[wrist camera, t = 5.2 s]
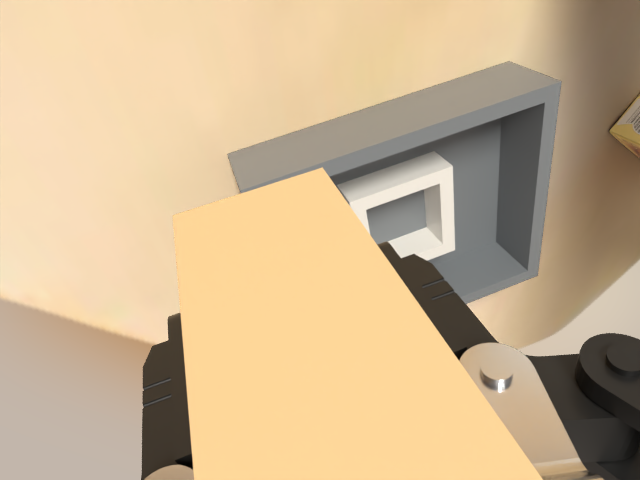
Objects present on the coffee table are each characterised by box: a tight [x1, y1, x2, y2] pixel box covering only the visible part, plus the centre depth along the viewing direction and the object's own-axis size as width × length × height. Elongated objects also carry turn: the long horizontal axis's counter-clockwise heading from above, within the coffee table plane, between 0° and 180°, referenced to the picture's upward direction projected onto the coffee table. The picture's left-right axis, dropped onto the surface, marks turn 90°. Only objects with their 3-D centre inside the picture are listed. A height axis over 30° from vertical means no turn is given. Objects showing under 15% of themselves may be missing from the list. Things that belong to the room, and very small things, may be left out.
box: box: [227, 61, 561, 304], centre depth 33 cm, size 20×16×5 cm
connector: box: [173, 167, 543, 480], centre depth 9 cm, size 4×4×11 cm
